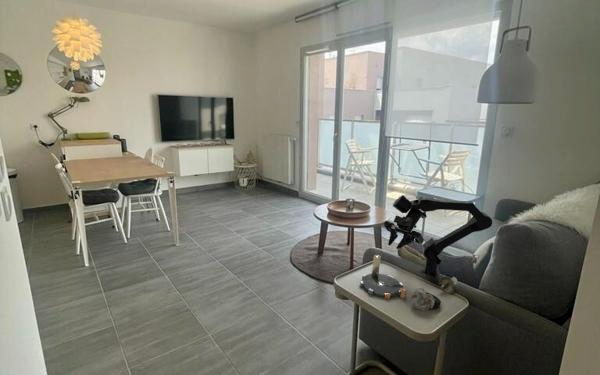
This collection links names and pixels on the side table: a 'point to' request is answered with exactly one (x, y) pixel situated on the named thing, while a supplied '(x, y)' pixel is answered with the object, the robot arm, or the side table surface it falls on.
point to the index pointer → (403, 293)
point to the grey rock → (424, 300)
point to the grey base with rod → (380, 282)
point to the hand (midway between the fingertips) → (392, 246)
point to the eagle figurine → (448, 284)
